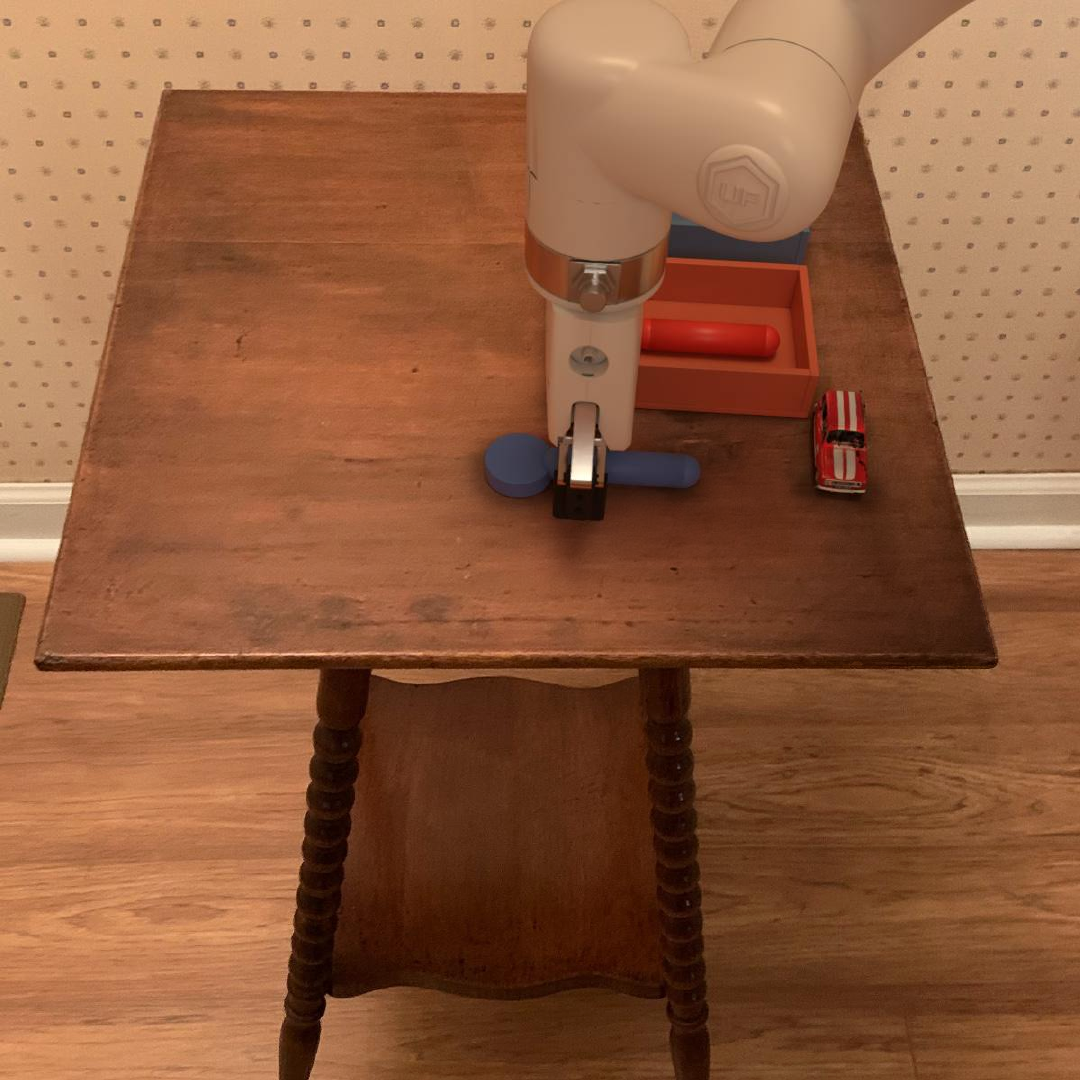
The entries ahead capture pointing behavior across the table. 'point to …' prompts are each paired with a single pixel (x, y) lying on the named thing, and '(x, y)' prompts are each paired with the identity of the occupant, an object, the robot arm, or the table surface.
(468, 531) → the table surface
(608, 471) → the blue spoon
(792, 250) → the blue bin
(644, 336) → the red spoon
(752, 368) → the red bin
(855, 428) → the toy car
